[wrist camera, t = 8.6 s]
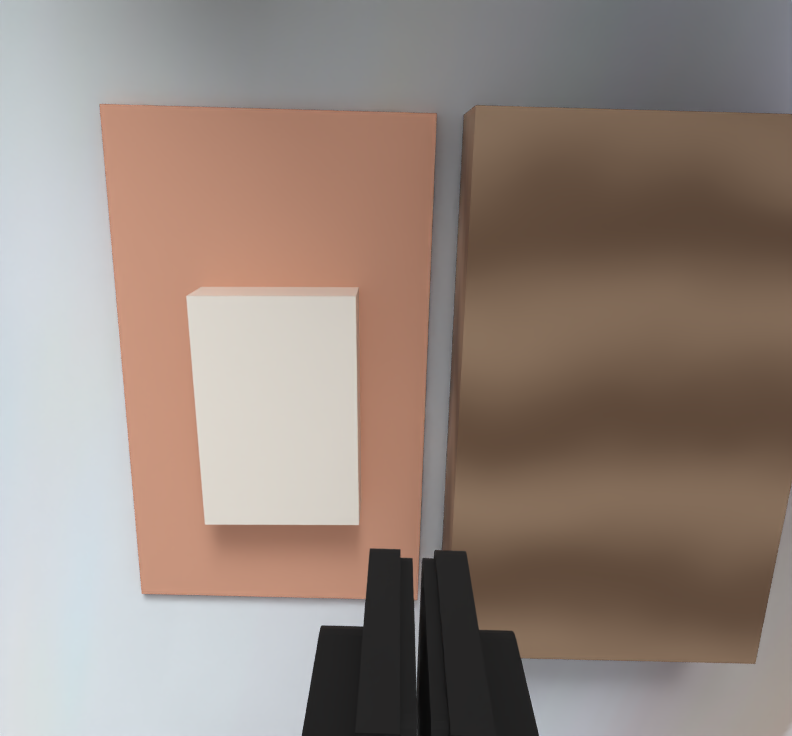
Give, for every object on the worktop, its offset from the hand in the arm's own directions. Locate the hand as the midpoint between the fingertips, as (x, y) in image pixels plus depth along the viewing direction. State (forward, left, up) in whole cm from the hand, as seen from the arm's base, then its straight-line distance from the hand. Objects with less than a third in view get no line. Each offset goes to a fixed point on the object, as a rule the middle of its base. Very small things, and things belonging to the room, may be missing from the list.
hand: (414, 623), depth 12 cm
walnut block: (+1, +8, -16) cm, 18 cm away
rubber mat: (+1, -5, -16) cm, 17 cm away
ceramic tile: (+1, -5, -14) cm, 15 cm away
